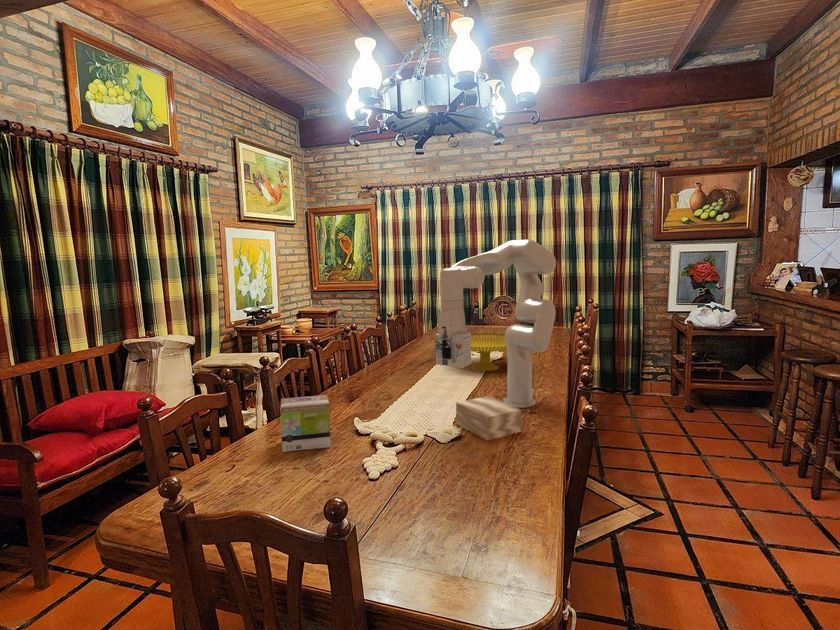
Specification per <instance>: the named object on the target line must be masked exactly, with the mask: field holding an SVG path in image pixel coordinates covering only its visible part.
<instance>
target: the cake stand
mask: <svg viewBox="0 0 840 630" xmlns="http://www.w3.org/2000/svg"><path fill="white" fill-rule="evenodd" d="M470 333H471V332H470ZM502 351H507V347H506V342H505V333H496V332H477V333H475V332H472V333H471V352H478V353H479V362H478V363H477V362H476V363H475V364H473V365H472V366H471V369H472V368H474V369H473V370H475V369H477V370H476V371H480V370H487V371H486V372H488V371H489V372H490V371H496V370H499V368H500V366H499V365H496V364H495V363H493V362H491V353H492V352H502Z"/></svg>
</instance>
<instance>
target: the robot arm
mask: <svg viewBox="0 0 840 630" xmlns="http://www.w3.org/2000/svg"><path fill="white" fill-rule="evenodd" d="M513 265H514V266H513ZM511 266H513V267H514V268H515V272H516V273H517V275H518V278H519V281H520V288H519V289H520V290H519V293H518V297H517V301H516V305H515V310H514V315H515V318H516V320H518V321H520V322H522V323H523V322H525V323H532V324H535V325H527V324H519V323H515V324H511V325H510V326H508V327H507V328H506V330H505V333H504V334H505V335H504V337H505V338H504V340H505V342H506V347H507V350H506V353H507V354H506V355H507V359H506V360H507V365H506V367H507V370H506V372H507V375H506V376H507V377H506V378H507V379H506V380H507V385H506V386H507V387H506V388H507V391H506V395H507V396H506V397H504V398H503V401H502V402H504V403H506V404H508V405H511V406H513V407H516V408H518V409H524V408H526V409H527V408H532V407H534V406H535V405H536V399H534V398H533V394H534V393H535V389H534V388H532V387H533V359H532V354H531V352H535V353H541V352H544V351H546V349H547V348H548V347H549V345H550V340H551V337H552V332H553V327H554V325H555V324H554V323H555V321H556V311H557V310H556V306H555V304H554V303H553V302H552V301H551V300H550V299H545V298H542V293H543V284H542V281H541V279H540V277H539V276H538V275H549V274H551V273H553V272H554V271H555V269H556V267H557V260H556V257H555V256H554V254H553V252H551V251H550V250H549V249H547V248H546V247H545V246H543V245H541V244H540V243H538V242H537V241H534V240H532V239H512V240H511V239H510V240H507V241H506V242H504V243H502V244H500V245H499V246H497V247H495V248H492V249H491V250H488V251H487V252H482V253H480V254H477V255H475V256H471V257H468V258H465V259H463V260H460V261H459V262H457V263H455V264H453V265H451V266H450V267H446V268H442V269H441V270H440V271H439V278H440V282H439V283H440V285H439V286H440V310H439V316H438V333H439V335H438V336H437V339H438V341H439V343H440V345H441V347H442V358H444V359H451V347H449V346H450V342H451V340H452V339H453V336H454V335H457V334H460V333H463V332H465V333H469V332H468V331H469V329H468V328H467V326H466V315H465V309H464V289H476V288H479V287H480V286H482V285H483V283H484V281H485V276H491V275H492V276H493V275H496V274H499V273H501V272H503V271H504V270H505V269H507V268H509V267H511ZM445 336H448V338H445ZM445 340H447V343H446V342H445Z"/></svg>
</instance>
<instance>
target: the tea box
mask: <svg viewBox="0 0 840 630" xmlns="http://www.w3.org/2000/svg"><path fill="white" fill-rule="evenodd" d="M330 405H331V404H330V402H329V397H328V394H324V395H323V394H322V395H312V396H311V395H310V396H299V397H287V398H285V397H284V398H281V399H280V430H281V434H280V435H281V448H282V449H281V450H282V453H287V452H295V451H303V450H304V451H305V450H314V449H327V448H331V446H332V445H331V444H332V441H331V439H332V438H331V414H330V413H331V411H330V410H331V409H330Z"/></svg>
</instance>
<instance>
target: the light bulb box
mask: <svg viewBox="0 0 840 630" xmlns="http://www.w3.org/2000/svg"><path fill="white" fill-rule="evenodd" d="M434 335H435V365H436V366H446V367H454V368H461V369H462V368H465V367H467V366H468V365H471V364H472V351H471V340H472V338H471V335H472V334H471V332H467V333H465V332H463V333H460V334H457V335H454V336H453V339H452V340H451V342H450V346H449V347H451V359H444V358H442V347H441V345H440V343H439V341H438V339H437V336H438V335H439V332H438V333H436V334H434ZM445 338H448V336H445ZM445 342H446V343H447V340H445Z"/></svg>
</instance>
